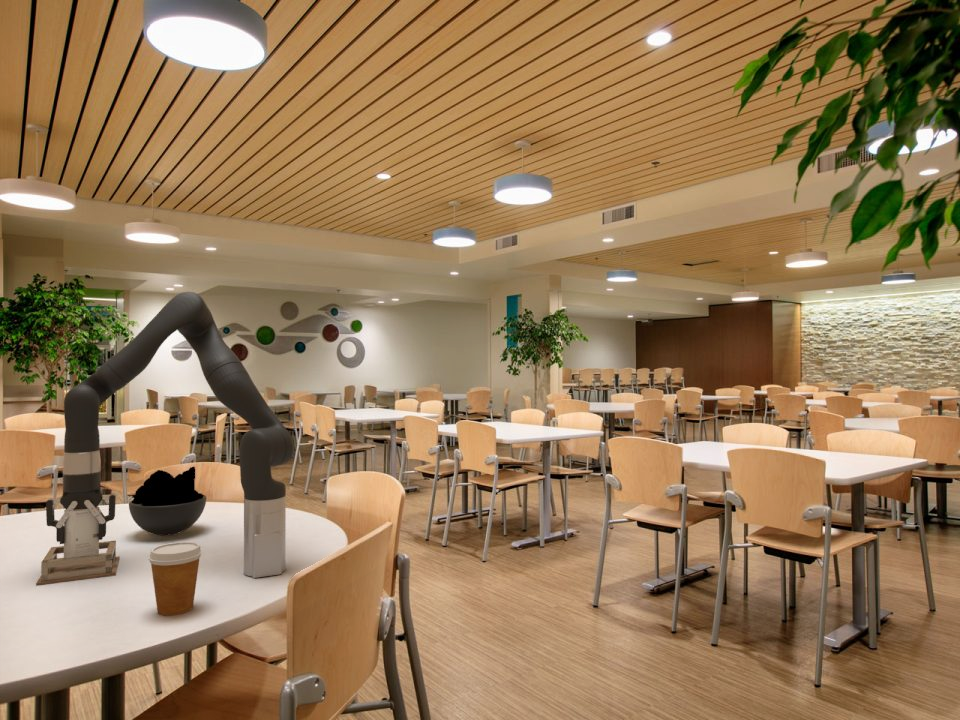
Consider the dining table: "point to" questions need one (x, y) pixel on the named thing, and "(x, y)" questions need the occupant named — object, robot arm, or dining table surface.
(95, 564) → the walnut board
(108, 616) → the dining table surface
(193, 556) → the disposable coffee cup
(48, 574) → the shallow wooden tray
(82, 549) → the skincare box
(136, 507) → the bowl of black rocks
